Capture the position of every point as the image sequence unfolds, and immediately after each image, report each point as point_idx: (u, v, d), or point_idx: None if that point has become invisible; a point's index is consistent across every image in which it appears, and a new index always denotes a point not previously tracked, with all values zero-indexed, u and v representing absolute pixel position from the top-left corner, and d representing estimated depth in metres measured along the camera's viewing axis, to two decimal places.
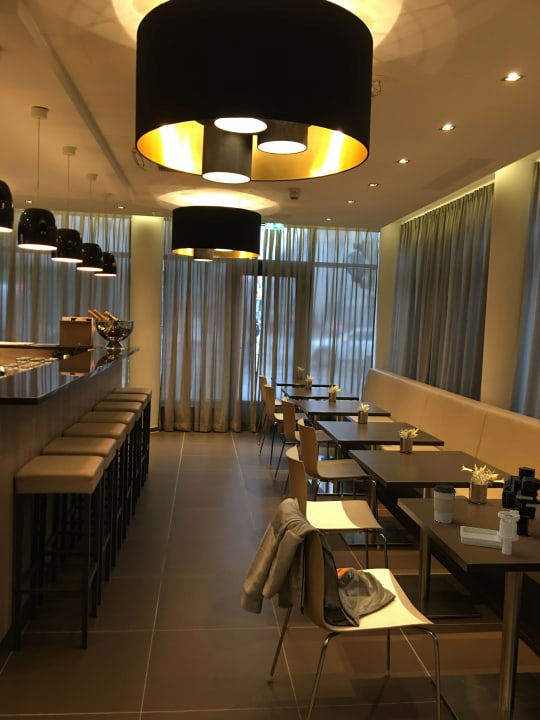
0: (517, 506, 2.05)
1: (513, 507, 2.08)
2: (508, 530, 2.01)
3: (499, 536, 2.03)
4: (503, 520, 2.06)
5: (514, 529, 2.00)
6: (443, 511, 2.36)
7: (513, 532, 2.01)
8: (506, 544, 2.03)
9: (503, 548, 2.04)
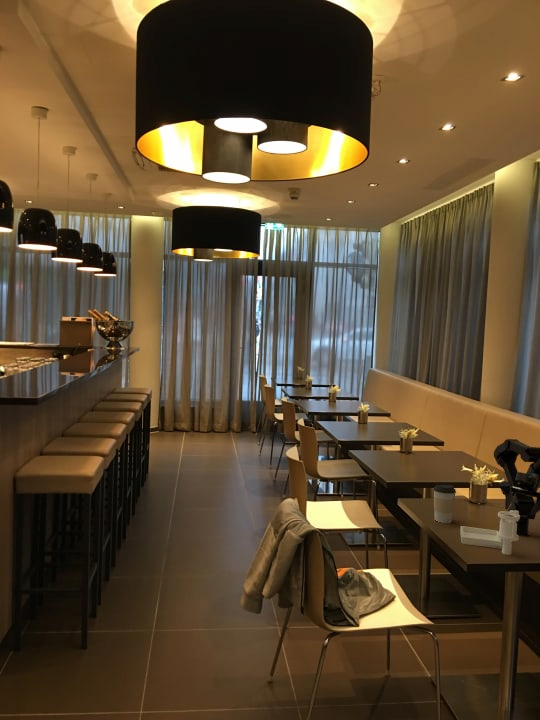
0: None
1: None
2: (508, 530, 2.01)
3: (499, 536, 2.03)
4: (503, 520, 2.06)
5: (514, 529, 2.00)
6: (443, 511, 2.36)
7: (513, 532, 2.01)
8: (506, 544, 2.03)
9: (503, 548, 2.04)
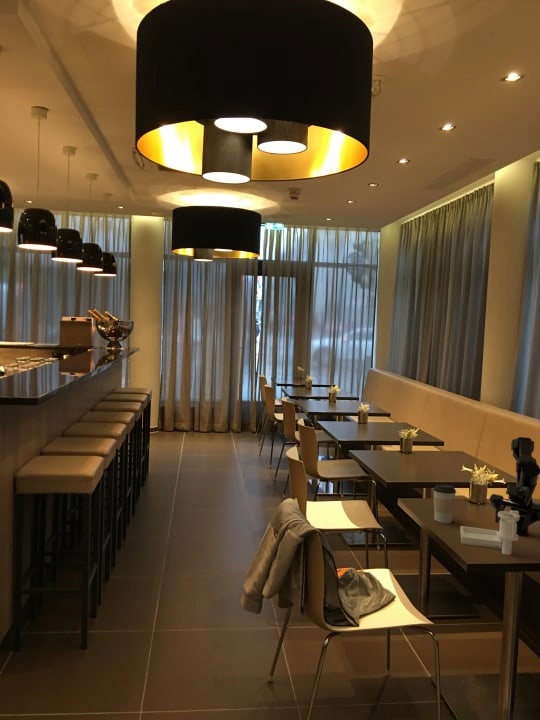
0: None
1: None
2: (508, 530, 2.01)
3: (499, 536, 2.03)
4: (503, 520, 2.06)
5: (514, 529, 2.00)
6: (443, 511, 2.36)
7: (513, 532, 2.01)
8: (506, 544, 2.03)
9: (503, 548, 2.04)
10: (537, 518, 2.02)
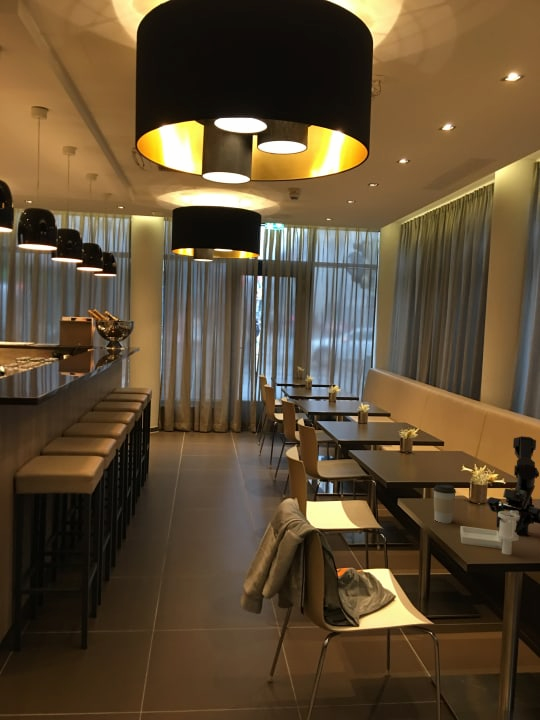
0: None
1: None
2: (508, 530, 2.01)
3: (499, 536, 2.03)
4: (503, 520, 2.06)
5: (514, 529, 2.00)
6: (443, 511, 2.36)
7: (513, 532, 2.00)
8: (506, 544, 2.03)
9: (503, 548, 2.04)
10: (530, 521, 2.02)
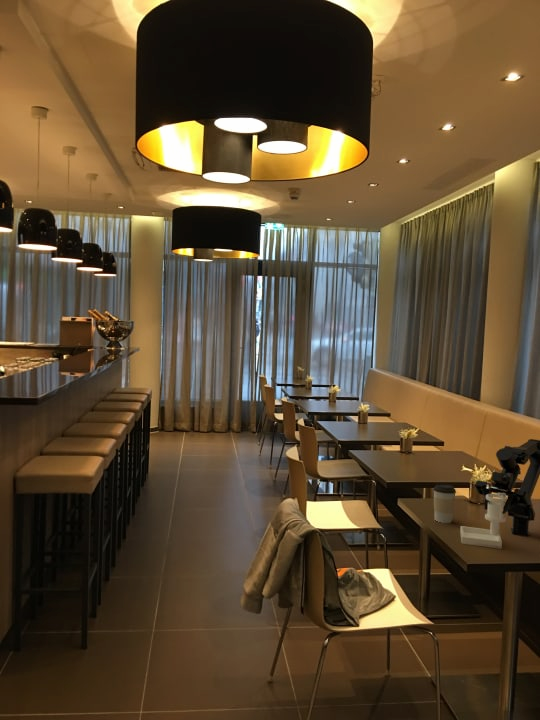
0: None
1: None
2: (496, 511, 2.08)
3: (487, 518, 2.09)
4: (491, 502, 2.13)
5: (502, 511, 2.07)
6: (443, 511, 2.36)
7: (501, 514, 2.07)
8: (494, 525, 2.09)
9: (491, 529, 2.10)
10: (517, 502, 2.09)
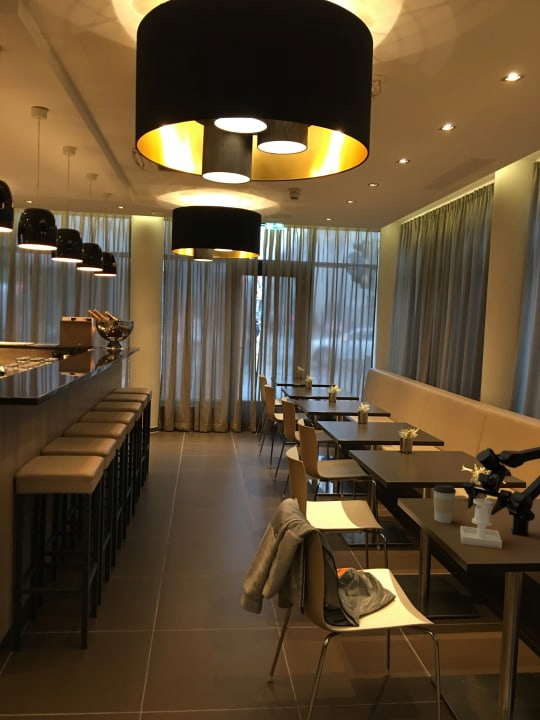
0: None
1: None
2: (483, 515, 2.14)
3: (474, 521, 2.16)
4: (478, 507, 2.19)
5: (488, 514, 2.14)
6: (443, 511, 2.36)
7: (487, 517, 2.14)
8: (480, 529, 2.16)
9: (478, 533, 2.17)
10: (506, 504, 2.14)
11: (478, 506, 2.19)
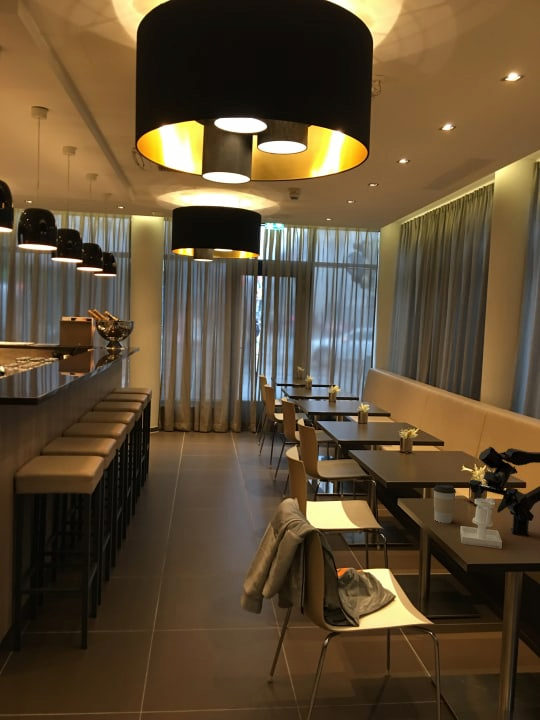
0: None
1: None
2: (483, 516, 2.14)
3: (474, 521, 2.16)
4: (479, 507, 2.19)
5: (489, 515, 2.13)
6: (443, 511, 2.36)
7: (488, 518, 2.13)
8: (481, 529, 2.16)
9: (478, 533, 2.16)
10: (512, 501, 2.17)
11: (479, 506, 2.19)
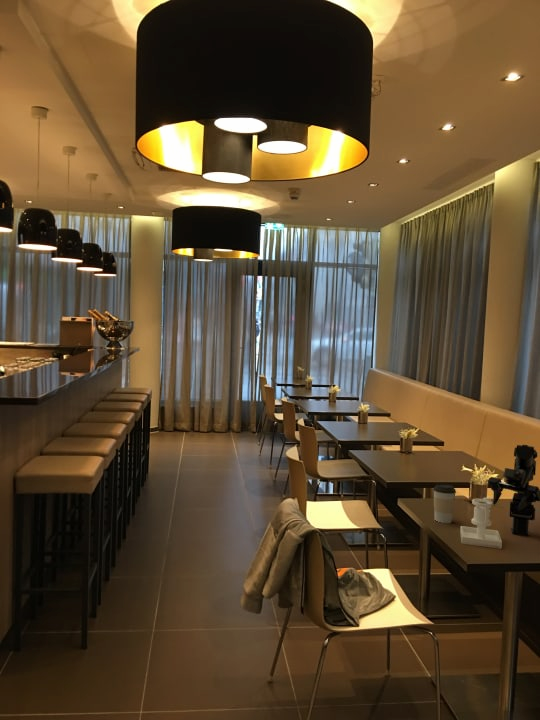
0: None
1: None
2: (482, 516, 2.14)
3: (473, 522, 2.16)
4: (477, 507, 2.19)
5: (487, 515, 2.13)
6: (443, 511, 2.36)
7: (486, 518, 2.13)
8: (480, 529, 2.16)
9: (477, 533, 2.16)
10: (533, 499, 2.12)
11: (477, 506, 2.19)
